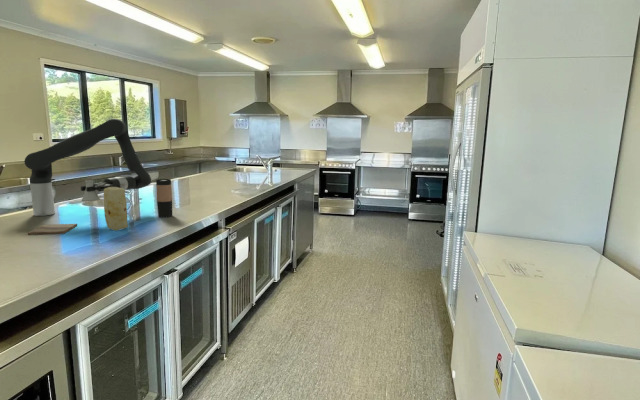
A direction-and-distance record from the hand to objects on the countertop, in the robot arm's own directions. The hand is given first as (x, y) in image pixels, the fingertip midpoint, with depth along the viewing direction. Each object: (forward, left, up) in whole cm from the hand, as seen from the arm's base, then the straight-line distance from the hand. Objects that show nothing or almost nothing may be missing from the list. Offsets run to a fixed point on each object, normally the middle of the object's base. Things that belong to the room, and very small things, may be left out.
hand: (84, 189), depth 176 cm
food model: (+10, +16, -18) cm, 26 cm away
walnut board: (+8, -11, -18) cm, 22 cm away
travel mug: (-16, +33, -18) cm, 41 cm away
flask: (-2, +2, -6) cm, 7 cm away
